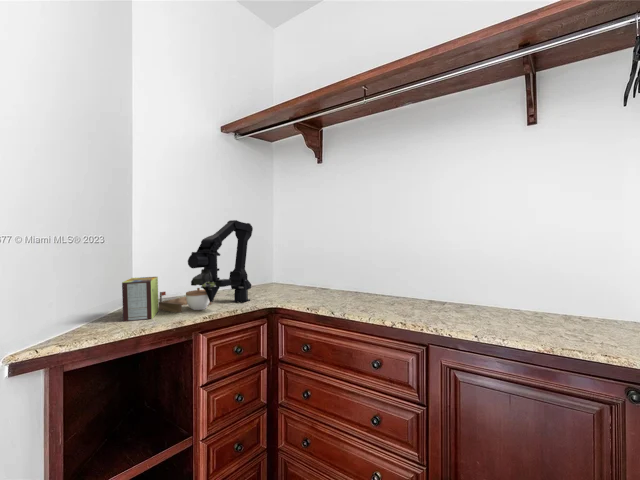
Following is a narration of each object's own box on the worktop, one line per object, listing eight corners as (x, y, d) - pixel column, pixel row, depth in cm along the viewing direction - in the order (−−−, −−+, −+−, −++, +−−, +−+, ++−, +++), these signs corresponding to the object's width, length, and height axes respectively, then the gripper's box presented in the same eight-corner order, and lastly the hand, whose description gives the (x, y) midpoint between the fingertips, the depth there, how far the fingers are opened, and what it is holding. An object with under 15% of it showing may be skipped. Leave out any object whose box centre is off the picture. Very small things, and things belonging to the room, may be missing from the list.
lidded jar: (181, 311, 143) (180, 289, 143) (195, 306, 154) (194, 286, 154) (203, 311, 141) (202, 289, 141) (215, 306, 152) (215, 286, 152)
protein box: (158, 311, 144) (158, 276, 144) (152, 319, 129) (151, 280, 129) (132, 313, 141) (131, 277, 141) (122, 321, 126) (121, 282, 126)
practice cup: (191, 302, 163) (191, 286, 163) (211, 304, 157) (211, 287, 157) (158, 309, 147) (158, 292, 146) (179, 312, 141) (178, 294, 140)
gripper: (180, 267, 141) (181, 303, 141) (213, 268, 133) (213, 306, 133) (200, 265, 151) (201, 299, 151) (231, 266, 143) (232, 301, 143)
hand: (211, 301), depth 144 cm, fingers closed
